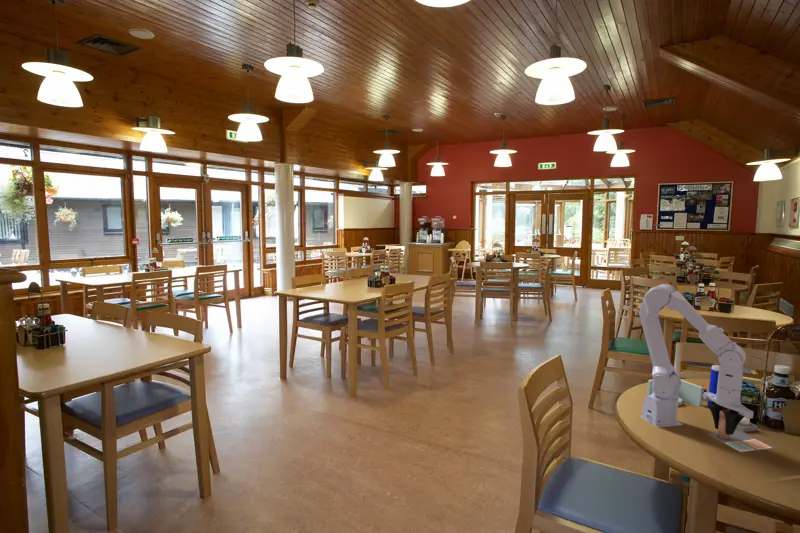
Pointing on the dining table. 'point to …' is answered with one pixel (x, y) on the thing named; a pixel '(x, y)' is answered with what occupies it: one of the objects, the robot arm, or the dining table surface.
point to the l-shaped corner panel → (684, 393)
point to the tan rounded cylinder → (722, 426)
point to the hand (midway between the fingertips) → (724, 431)
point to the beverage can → (713, 380)
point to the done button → (744, 422)
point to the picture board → (742, 442)
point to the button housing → (747, 428)
